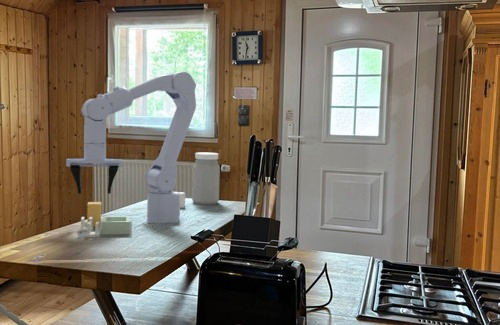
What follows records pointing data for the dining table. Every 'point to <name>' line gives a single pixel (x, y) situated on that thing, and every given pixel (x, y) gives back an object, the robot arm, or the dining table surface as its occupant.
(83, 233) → the mat
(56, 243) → the dining table surface
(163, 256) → the dining table surface
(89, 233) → the cable clip
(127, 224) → the end holder
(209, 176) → the jar
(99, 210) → the connector plug
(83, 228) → the cable clip
